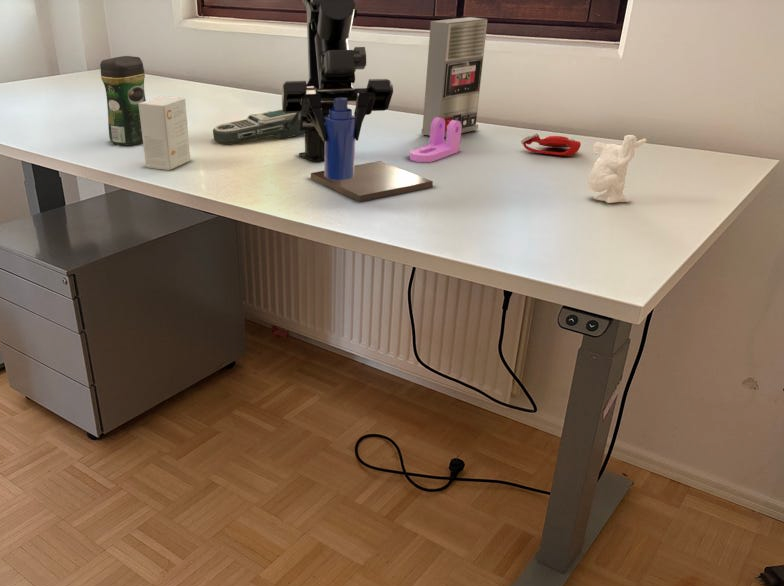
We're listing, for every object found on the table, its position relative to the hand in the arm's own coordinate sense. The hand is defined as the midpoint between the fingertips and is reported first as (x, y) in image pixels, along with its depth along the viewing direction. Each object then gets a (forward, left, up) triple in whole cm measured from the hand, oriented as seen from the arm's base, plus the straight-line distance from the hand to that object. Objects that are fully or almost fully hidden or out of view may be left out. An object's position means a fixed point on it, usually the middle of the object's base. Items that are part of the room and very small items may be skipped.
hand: (341, 139), depth 126 cm
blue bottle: (-1, +1, -7) cm, 7 cm away
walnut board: (-9, +13, -12) cm, 20 cm away
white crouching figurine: (+22, +44, -12) cm, 51 cm away
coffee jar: (-66, -15, -12) cm, 69 cm away
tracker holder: (-8, +61, -12) cm, 63 cm away
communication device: (-54, +13, -12) cm, 57 cm away
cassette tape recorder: (-33, +54, -12) cm, 64 cm away
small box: (-43, -15, -12) cm, 47 cm away
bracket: (-19, +37, -12) cm, 43 cm away
